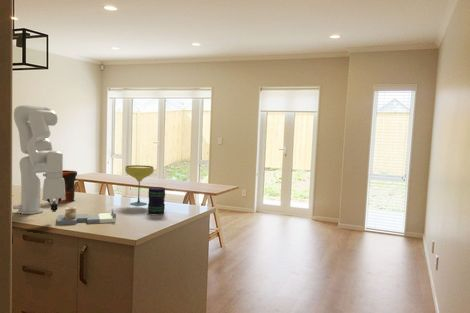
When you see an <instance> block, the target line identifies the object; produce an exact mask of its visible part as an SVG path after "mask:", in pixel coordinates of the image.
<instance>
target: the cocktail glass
mask: <svg viewBox="0 0 470 313" xmlns="http://www.w3.org/2000/svg"><path fill="white" fill-rule="evenodd" d="M125 173H126V174H127V175H129V176H130V177H132V178H134V179H136V180H135V181H137V182H138V192H137V194H138V195H137V201H134V202H130V203H129V205H130V206H135V207H136V206H137V207H138V206H142V207H143V206H146V205H148V204H147V202H143V201H141V200H140V189H141V188H140V186H141V184H140V183H141V182H142V181H143V179H145V178H147V177H149V176H151V175H152V174H153V173H154V166H151V165H138V164H137V165H135V164H133V165H126V166H125Z"/></svg>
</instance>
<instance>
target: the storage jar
mask: <svg viewBox="0 0 470 313" xmlns="http://www.w3.org/2000/svg"><path fill="white" fill-rule="evenodd" d="M147 193H148V194H147V195H148V197H147V198H148V204H147V214H148V213H149V215H153V214H159V215H164V214H165V206H166V205H165V197H166V188H165V187H162V186H150V187H148V192H147ZM163 213H164V214H163Z"/></svg>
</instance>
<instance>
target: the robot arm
mask: <svg viewBox="0 0 470 313" xmlns="http://www.w3.org/2000/svg"><path fill="white" fill-rule="evenodd" d="M13 120H14V123H15V125H16V128H17V131H18V138H19V147H20V151H21V152H22V153H23V154H24V155H27V156H23V157H21V159H20V160H19V169H20V181H21V182H20V190H21V191H20V203H19V204H18V205H15V204H14V205H13V209H12V210H17V213H18V214H20V213H21V215H34V214H40V213H42V212H44V209H43V208H41V200H42V201H45V202H48V203H49V204H50V211H51V212H52V213H56V211H58V205H59V204H60V203H59V202H60V201H61V200H65V199H66V197H65V181H64V178H62V174H63V170H64V169H63V164H64V163H63V161H64V160H63V159H64V158H63V157H64V156H63V155H64V154H63V153H62V152H61V151H57V150H53V145H52V142H51V140H50V139H49V138H50V136H51V131H50V130H51V129H50V127H51V126H53V127H54V126H56V125H57V123H58V115H57V113H56V111H54V110H52V109H50V108H48V107H45V106H34V105H18V106H16V107H15V108H14V110H13ZM49 126H50V127H49ZM40 173H41V174H42V176H43V177H45V178H44V179H43V186H42V199H41V179H40V177H39V176H38V175H37V174H40ZM54 199H55V200H56V201H54Z"/></svg>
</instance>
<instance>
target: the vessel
mask: <svg viewBox="0 0 470 313" xmlns="http://www.w3.org/2000/svg"><path fill="white" fill-rule="evenodd" d="M77 176H78V171H76V170H69V169H68V170H65V169H63V174H62V178H64V181H65V197H66V199H65V200H61V201H60V202H67V203H73V202H76V201H75V200H76V199H75V194H76V193H75V192H76V191H75V190H76V182H75V181H77V180H76V178H77ZM54 202H56V199H54Z"/></svg>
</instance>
